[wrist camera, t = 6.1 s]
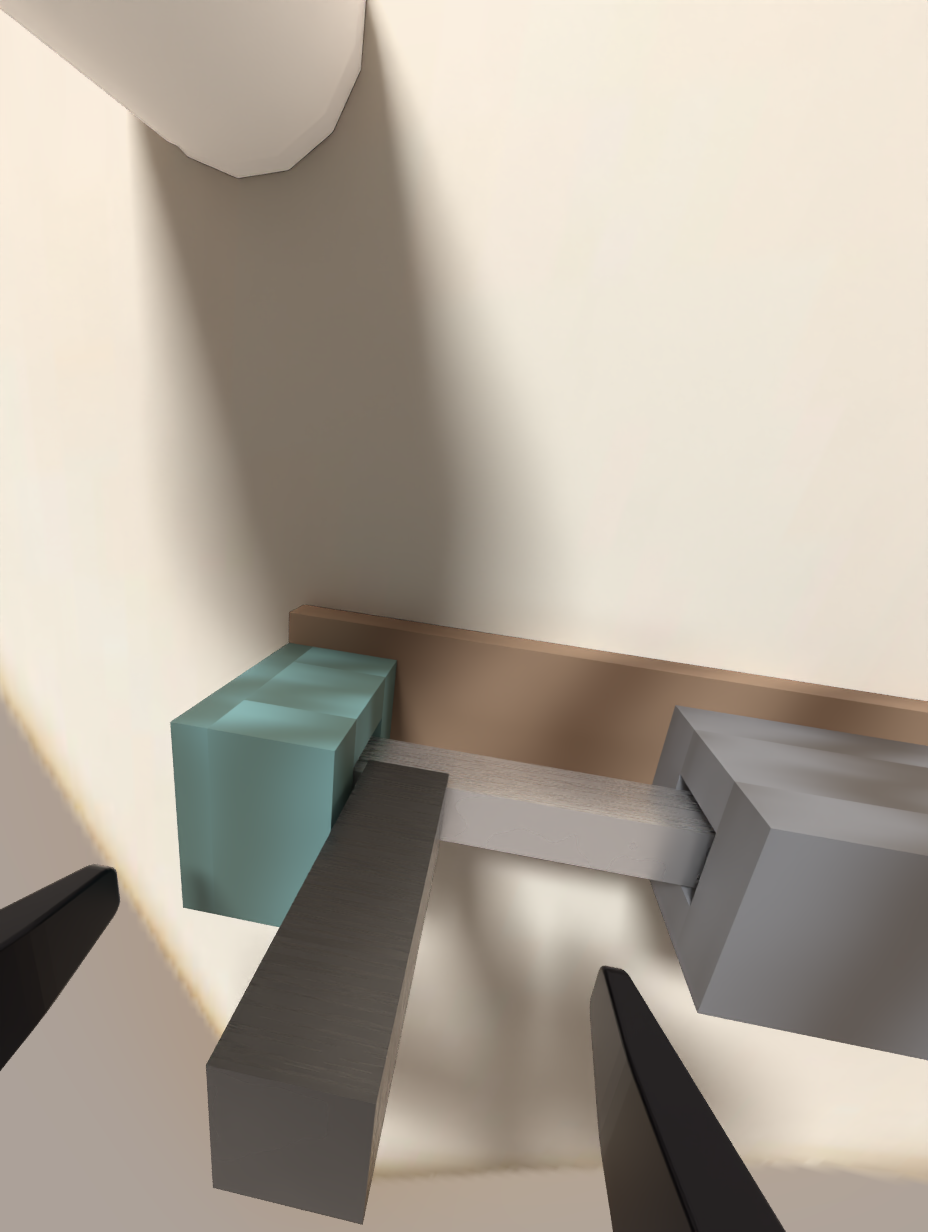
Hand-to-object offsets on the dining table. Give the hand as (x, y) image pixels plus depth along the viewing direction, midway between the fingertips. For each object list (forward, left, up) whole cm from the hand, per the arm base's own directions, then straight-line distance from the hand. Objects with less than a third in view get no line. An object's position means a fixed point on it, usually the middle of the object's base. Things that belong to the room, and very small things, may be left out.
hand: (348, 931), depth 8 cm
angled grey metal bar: (-3, 0, -5) cm, 6 cm away
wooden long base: (-6, 0, -8) cm, 9 cm away
